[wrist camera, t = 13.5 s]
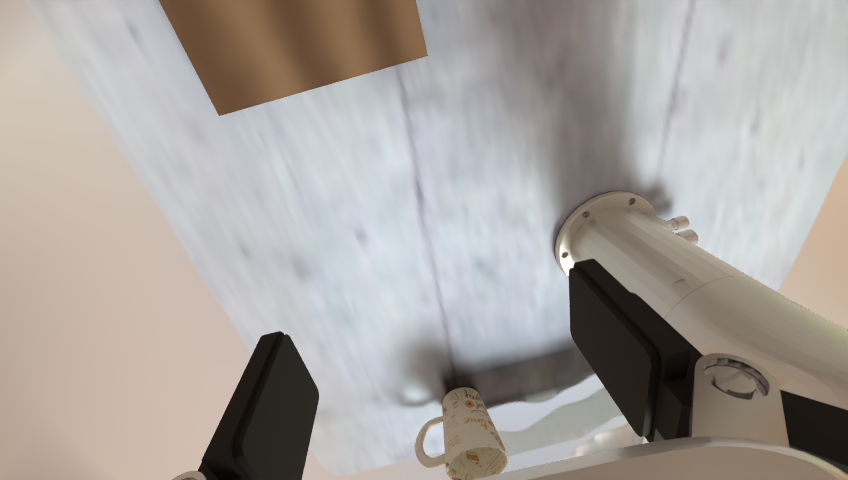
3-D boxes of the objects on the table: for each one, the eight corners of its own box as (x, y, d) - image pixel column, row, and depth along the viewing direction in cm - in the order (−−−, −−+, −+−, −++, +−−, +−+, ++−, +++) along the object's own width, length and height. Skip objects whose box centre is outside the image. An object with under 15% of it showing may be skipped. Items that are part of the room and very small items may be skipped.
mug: (493, 404, 56) (516, 469, 47) (424, 433, 57) (433, 502, 48) (475, 373, 52) (496, 438, 43) (401, 405, 53) (406, 474, 44)
